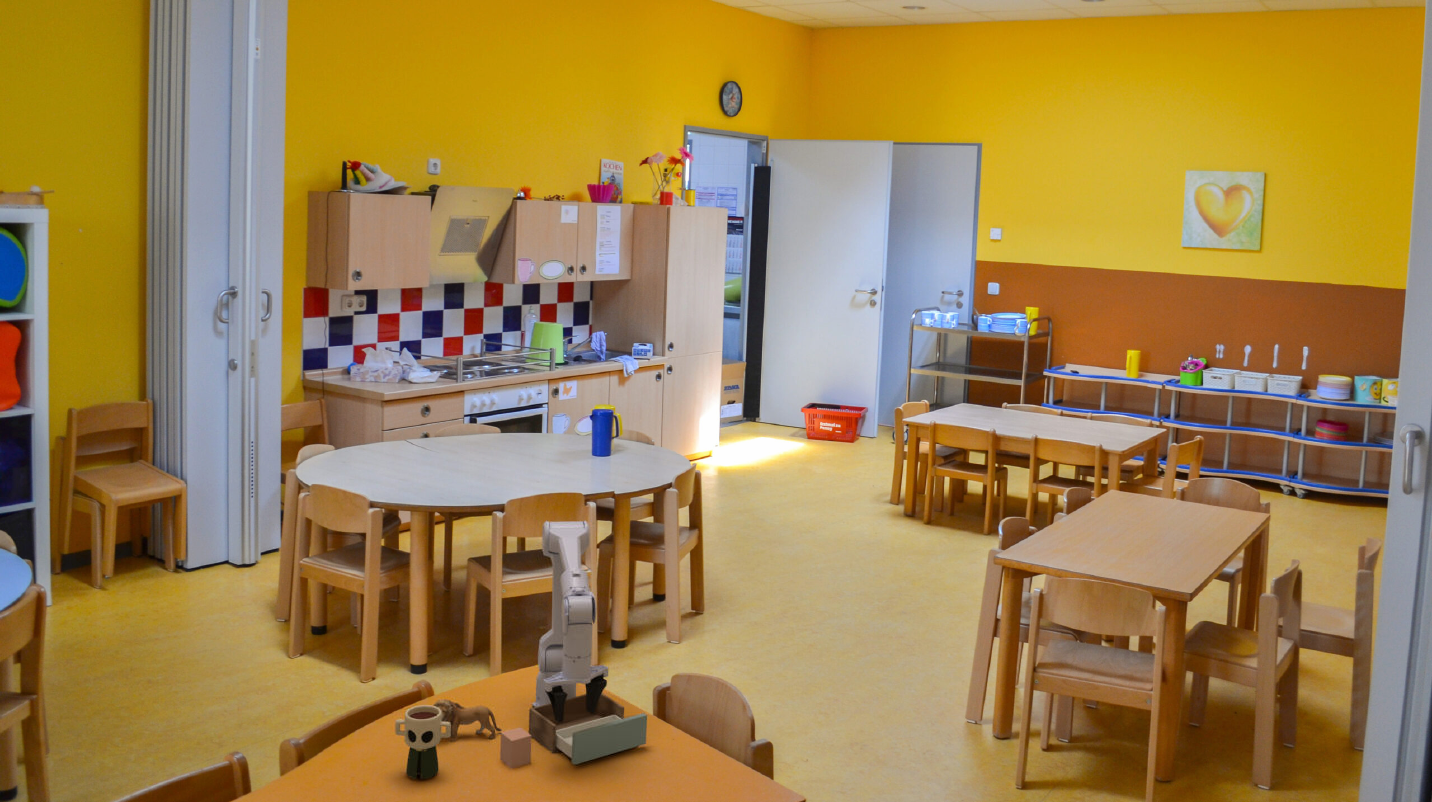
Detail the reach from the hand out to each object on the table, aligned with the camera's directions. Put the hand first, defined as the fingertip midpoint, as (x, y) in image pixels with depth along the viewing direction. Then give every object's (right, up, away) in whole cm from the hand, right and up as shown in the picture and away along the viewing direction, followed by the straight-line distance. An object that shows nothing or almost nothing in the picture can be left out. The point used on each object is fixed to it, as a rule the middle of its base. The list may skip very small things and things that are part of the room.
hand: (574, 716), depth 241 cm
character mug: (-29, -10, -7) cm, 32 cm away
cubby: (-1, -8, +14) cm, 16 cm away
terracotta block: (-12, -9, 0) cm, 15 cm away
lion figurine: (-24, -7, +9) cm, 27 cm away
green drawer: (+4, -8, +7) cm, 11 cm away
